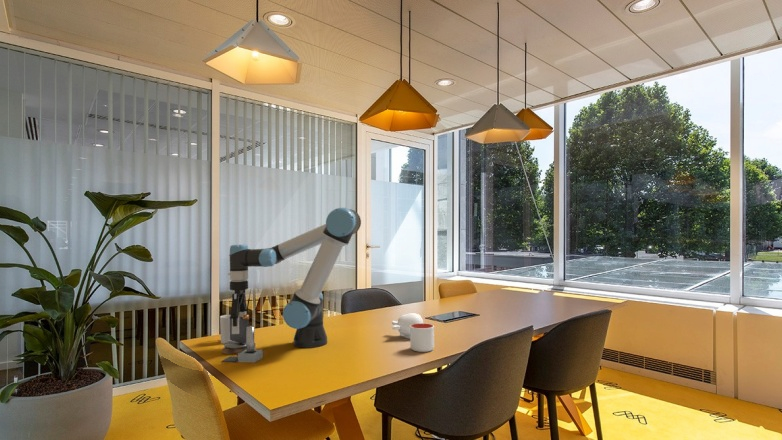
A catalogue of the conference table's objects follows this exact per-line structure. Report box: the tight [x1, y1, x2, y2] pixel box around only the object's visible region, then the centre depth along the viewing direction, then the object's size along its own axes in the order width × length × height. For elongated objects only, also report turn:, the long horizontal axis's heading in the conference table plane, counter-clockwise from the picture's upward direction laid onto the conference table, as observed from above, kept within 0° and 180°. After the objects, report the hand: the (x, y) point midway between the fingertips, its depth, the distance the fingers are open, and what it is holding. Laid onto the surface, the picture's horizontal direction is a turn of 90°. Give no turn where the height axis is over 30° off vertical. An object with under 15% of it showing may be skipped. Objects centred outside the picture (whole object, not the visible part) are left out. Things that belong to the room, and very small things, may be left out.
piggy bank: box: [391, 312, 424, 339], centre depth 205 cm, size 12×12×15 cm
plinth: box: [221, 342, 257, 355], centre depth 186 cm, size 10×10×2 cm
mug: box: [219, 314, 232, 345], centre depth 202 cm, size 10×7×12 cm, turn 25°
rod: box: [246, 325, 255, 354], centre depth 173 cm, size 3×3×13 cm
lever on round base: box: [223, 314, 250, 349], centre depth 187 cm, size 12×12×13 cm
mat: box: [221, 355, 238, 363], centre depth 173 cm, size 6×6×1 cm
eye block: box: [237, 349, 264, 363], centre depth 173 cm, size 7×7×3 cm
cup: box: [409, 322, 435, 353], centre depth 184 cm, size 10×10×10 cm
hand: (239, 330), depth 187 cm, fingers open, 13 cm apart
